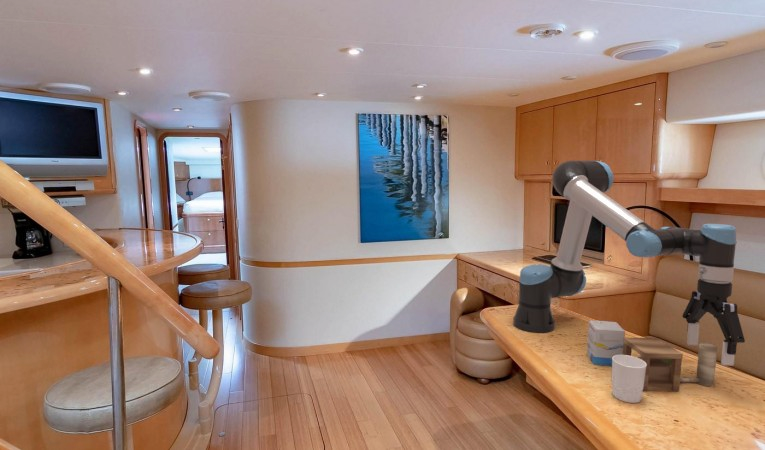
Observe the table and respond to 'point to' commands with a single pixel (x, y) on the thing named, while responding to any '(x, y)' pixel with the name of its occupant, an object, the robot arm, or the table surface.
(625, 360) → the white cup
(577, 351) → the table surface
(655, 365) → the block
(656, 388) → the wooden open stand
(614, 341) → the ink box
